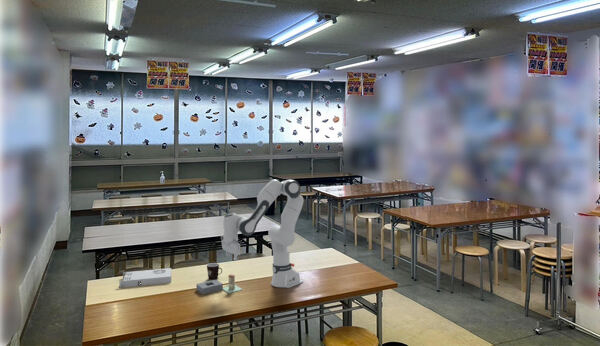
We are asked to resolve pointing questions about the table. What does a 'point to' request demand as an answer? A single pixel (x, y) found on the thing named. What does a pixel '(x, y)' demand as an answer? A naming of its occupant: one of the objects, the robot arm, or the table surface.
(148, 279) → the power supply unit
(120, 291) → the table surface
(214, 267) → the coffee mug
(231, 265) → the table surface
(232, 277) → the plug
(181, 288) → the table surface
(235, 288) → the mat
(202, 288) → the gray rectangular block
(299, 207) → the robot arm
